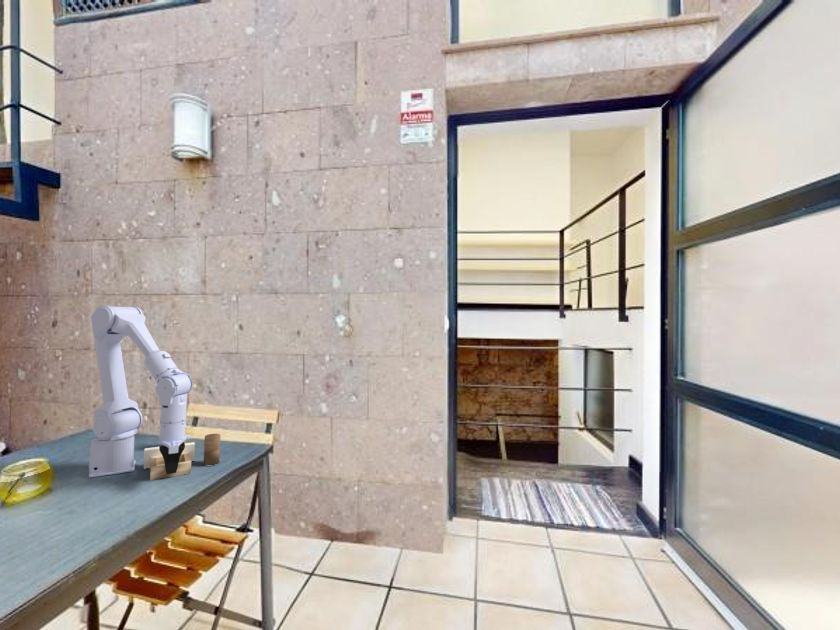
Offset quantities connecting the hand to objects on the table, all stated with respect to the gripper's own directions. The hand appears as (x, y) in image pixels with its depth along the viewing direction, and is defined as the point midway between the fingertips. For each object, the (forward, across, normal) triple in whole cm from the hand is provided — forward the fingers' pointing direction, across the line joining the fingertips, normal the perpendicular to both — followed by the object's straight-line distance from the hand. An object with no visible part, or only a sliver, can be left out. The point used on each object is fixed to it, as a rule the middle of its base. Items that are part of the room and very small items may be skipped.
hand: (171, 472), depth 103 cm
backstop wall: (+1, +10, 0) cm, 11 cm away
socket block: (+1, +5, 0) cm, 5 cm away
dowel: (+1, +6, -10) cm, 11 cm away
